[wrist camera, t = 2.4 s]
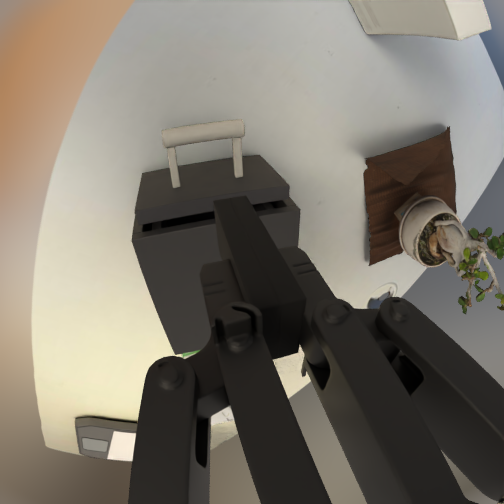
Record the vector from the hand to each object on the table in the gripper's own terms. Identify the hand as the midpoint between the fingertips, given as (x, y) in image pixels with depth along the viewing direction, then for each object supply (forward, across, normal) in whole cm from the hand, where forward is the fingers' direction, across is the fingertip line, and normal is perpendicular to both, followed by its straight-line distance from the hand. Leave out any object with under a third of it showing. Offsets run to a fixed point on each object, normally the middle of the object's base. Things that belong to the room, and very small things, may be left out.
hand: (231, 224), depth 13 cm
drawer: (+15, 0, -6) cm, 16 cm away
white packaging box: (+16, +20, +17) cm, 30 cm away
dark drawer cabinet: (+16, 0, -11) cm, 19 cm away
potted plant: (+16, +29, -8) cm, 34 cm away
